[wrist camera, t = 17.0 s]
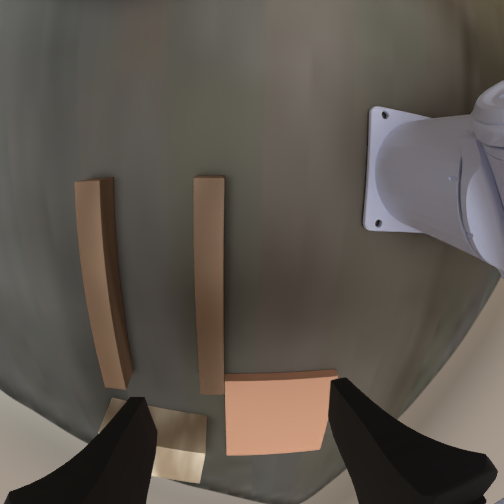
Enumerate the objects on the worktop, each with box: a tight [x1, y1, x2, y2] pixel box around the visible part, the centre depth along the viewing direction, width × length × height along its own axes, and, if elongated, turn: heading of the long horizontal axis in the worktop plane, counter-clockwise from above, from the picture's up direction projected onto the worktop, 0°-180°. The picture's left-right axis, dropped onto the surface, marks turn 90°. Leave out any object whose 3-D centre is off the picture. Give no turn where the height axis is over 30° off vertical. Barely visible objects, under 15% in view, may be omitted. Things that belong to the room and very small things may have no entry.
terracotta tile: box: [225, 369, 338, 455], centre depth 24 cm, size 8×9×1 cm
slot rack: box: [75, 175, 225, 395], centre depth 19 cm, size 8×14×2 cm, turn 178°
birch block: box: [98, 397, 207, 483], centre depth 22 cm, size 4×4×8 cm
